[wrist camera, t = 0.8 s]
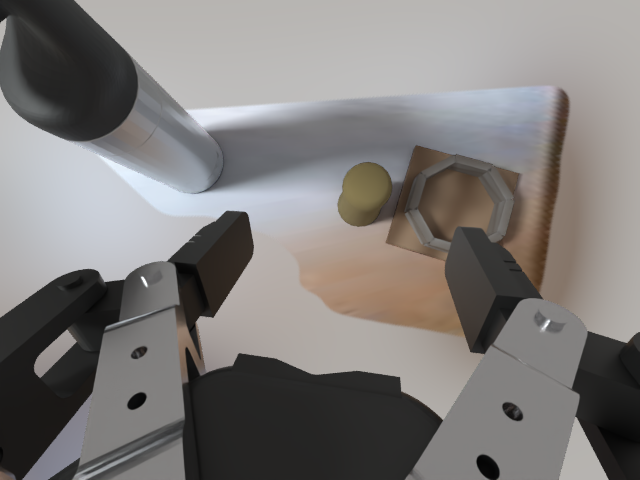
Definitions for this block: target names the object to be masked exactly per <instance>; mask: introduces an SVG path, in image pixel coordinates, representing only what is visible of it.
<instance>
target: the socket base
mask: <svg viewBox="0 0 640 480" xmlns="http://www.w3.org/2000/svg"><path fill="white" fill-rule="evenodd" d="M492 165H493V164H490V163H486V162H483V161H479V160H475V159H472V158H468V157H464V156H461V155H457V154H456V155H455V156H454V155H450V154H446V153H442V152H439V151H435V150H432V149H428V148H424V147H421V146H417V145H416V146H415V148H414V150H413V154H412V157H411V160H410V164H409V167H408V170H407V174H406V177H405V180H404V184H403V187H402V190H401V194H400V197H399V200H398V204H397V207H396V210H395V214H394V217H393V220H392V224H391V227H390V230H389V234H388V237H387V240H386V243H387V244H391V245H394V246H397V247H400V248H404V249H407V250H410V251H413V252H417V253H420V254H423V255H427V256H430V257H433V258H436V259H440V260H443V261H446V259H447V256H448V252H449V249H450V245H451V242H452V239H453V235H454V232H455V230H456V228H457V227H458V226H461V227H476V228H482V229H483V230H484V232H485V234H486V235H487V237H488V238H489V240H490V241H491V242H494V243H498V244H499V245H500V241H501V239H503V237H502V236H505V234H506V231H507V227H508V223H509V220H510V216H511V212H512V209H513V205H514V202H515V200H512V199H513V198H514V196H513V194H514V190H515V187H516V183H517V179H518V176H519V173H515V172H512V171H508V170H504V169H501V168H497V167H495V166H494V167H493V166H492Z"/></svg>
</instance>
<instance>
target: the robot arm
mask: <svg viewBox="0 0 640 480" xmlns="http://www.w3.org/2000/svg"><path fill="white" fill-rule="evenodd" d="M5 18H7V21H6V31H5V35H4V39H3V42H2V46H1V50H0V87H1V90H2V92H3V94H4V97H5V99H6V100H7V102H8V103H9V105H10V106H11V107H12V109H13V110H14V111H15V112H16V113H17V114H18V115H19V116H21V117H22V118H23V119H25V120H26V121H27V122H29V123H31V124H33V125H34V126H36V127H38V128H40V129H42V130H44V131H47V132H49V133H51V134H53V135H55V136H58V137H60V138H63V139H65V140H67V141H69V142H72V143H74V144H76V145H78V146H80V147H83V148H85V149H87V150H89V151H92V152H94V153H96V154H99V155H101V156H103V157H105V158H107V159H110V160H112V161H114V162H116V163H118V164H121V165H123V166H125V167H127V168H129V169H132V170H134V171H136V172H138V173H141V174H143V175H145V176H147V177H149V178H152V179H154V180H156V181H158V182H160V183H162V184H164V185H167V186H169V187H171V188H173V189H176V190H178V191H181V192H184V193H191V194H192V193H199V192H202V191H204V190H206V189H208V188H210V187H211V186H212V185H213V184H214V183H215V182H216V181H217V179H218V178H219V176H220V174H221V172H222V168H223V154H222V151H221V149H220V146H219V145H218V144H217V142H216V141H215V140H214V139H213V138H212V137H211V136H210V135H209V134H208V133H207V132H206V131H205V130H204V129H203V128H202V127H201V126H200V125H199V124H198V123H197V122H196V121H195V120H194V119H193V118H192V117H191V116H190V115H189V114H188V113H187V112H186V111H185V110H184V109H183V108H182V107H181V106H180V105H179V104H178V103H177V102H176V101H175V100H174V99H173V98H172V97H171V96H170V95H169V94H168V93H167V92H166V91H165V90H164V89H163V88H162V87H161V86H160V85H159V84H158V83H157V82H156V81H155V80H154V79H153V78H152V77H151V76H150V75H149V74H148V73H147V72H146V71H145V70H144V69H143V68H142V67H141V66H140V65H139V64H138V63H137V62H136V61H135V60H134V59H133V58H132V57H131V56H130V55H129V54H128V53H127V52H126V51H125V50H124V49H123V48H122V47H121V46H120V45H119V44H118V43H117V42H116V41H115V40H114V39H113V38H112V37H111V36H110V35H109V34H108V33H107V32H106V31H105V30H104V29H103V28H102V27H101V26H100V25H99V24H98V23H96V22H95V21H94V20H93V19H92V18H91V17H90V16H89V15H88V14H87V13H86V12H85V11H84V10H83V9H82V8H81V7H80V6H79V5H78V4H77V3H76V2H75V1H74V0H0V22H1V21H3V20H4V19H5ZM253 249H254V245H253V239H252V234H251V228H250V222H249V217H248V214H247V213H246V212H240V211H226V212H225V213H224V214H223V215H222V216H221V217H220V218H219V219H218V220H217V221H216V222H212V223H211V224H209V225H207V226H205V227H203V228H202V229H201V230H200V231H199V232H198V233H196V234H195V236H193V237H192V238H191V239H190V240H189V242H187V243H186V244H185V245H184V246H183V247H182V248H180V250H178V251H177V252H176V253H175V254H174V255H173V256H172V257H171V258H170V259H169V260H168V261H167V262H163V261H162V262H161V261H160V262H153V263H149V264H146V265H144V266H141V267H139V268H137V269H136V270H134V271H133V272H131V273H130V274H129V275H128V276H127V277H126V279H125V280H119V281H110V282H104V280H103V279H102V277H101V275H100V274H99V272H98V271H96V270H93V269H83V270H78V271H74V272H71V273H68V274H65V275H63V276H61V277H58V278H57V279H55V280H53V281H52V282H50V283H49V284H47V285H46V286H44V287H43V288H42V289H40V290H39V291H37V292H36V293H35V294H33V295H32V296H30V297H29V298H28V299H26V300H25V301H23V302H22V303H20V304H19V305H18V306H16V307H15V308H14V309H12V310H11V311H9V312H8V313H6V314H5V315H4V316H2V317H1V318H0V480H22V479H23V478H24V477H25V475H26V474H27V473H28V472H29V471H30V469H31V468H32V467H33V465H34V464H35V463H36V462H37V461H38V459H39V458H40V457H41V456H42V454H43V453H44V452H45V451H46V449H47V448H48V447H49V446H50V444H51V443H52V442H53V440H54V439H55V438H56V437H57V436H58V434H59V433H60V432H61V431H62V430H63V428H64V427H65V426H66V425H67V423H68V422H69V421H70V420H71V418H72V417H73V416H74V415H75V413H76V412H77V411H78V409H79V408H80V407H81V406H82V405H83V403H84V402H85V401H86V400H87V398H88V397H89V396H90V395H91V393H92V392H93V393H92V399H91V404H90V409H89V415H88V420H87V426H86V431H85V436H84V441H83V446H82V452H81V457H80V458H79V459H77V460H76V461H74V462H73V463H72V464H70V465H69V466H67V467H66V468H64V469H63V470H62V471H60V472H59V473H57V474H56V475H54V476H53V477H51V478H50V479H48V480H559V476H560V472H561V469H562V465H563V461H564V457H565V453H566V449H567V446H568V442H569V438H570V434H571V430H572V427H573V423H574V419H575V417H577V418H578V421H579V422H580V425H581V426H582V428H583V430H584V432H585V434H586V436H587V438H588V440H589V442H590V444H591V446H592V447H593V450H594V452H595V454H596V456H597V458H598V459H599V462H600V463H601V465H602V467H603V469H604V471H605V473H606V475H607V477H608V479H609V480H640V332H638V333H637V334H636V335H634V336H633V337H632V338H631V340H630V341H629V342H628V343H624V342H621V341H618V340H615V339H611V338H608V337H605V336H602V335H598V334H595V333H592V332H589V331H587V329H586V327H585V325H584V324H583V322H582V321H581V320H580V319H579V318H578V317H577V316H576V315H575V314H573V313H572V312H570V311H569V310H567V309H565V308H564V307H562V306H560V305H558V304H555V303H553V302H550V301H547V300H543V298H542V297H541V295H540V294H539V293H538V291H537V290H536V288H535V287H534V286H533V284H532V283H531V281H530V280H529V279H528V277H527V276H526V275H525V273H524V272H522V269H521V268H520V266H519V265H518V264H516V261H515V259H514V258H513V256H512V255H511V254H510V252H509V251H507V250H506V249H505V248H503V247H502V246H500V245H499V244H498V243H494V242H491V241H490V240H489V238H488V237H487V235H486V234H485V232H484V230H483V229H482V228H476V227H461V226H458V227H457V228H456V230H455V232H454V235H453V239H452V242H451V245H450V249H449V252H448V256H447V259H446V263H445V277H446V280H447V283H448V286H449V289H450V292H451V295H452V298H453V301H454V304H455V307H456V310H457V313H458V316H459V319H460V322H461V325H462V328H463V331H464V334H465V337H466V340H467V343H468V346H469V349H470V352H473V353H481V354H485V355H484V356H483V358H482V360H481V361H480V363H479V364H478V366H477V368H476V369H475V371H474V372H473V374H472V376H471V377H470V379H469V380H468V382H467V384H466V385H465V387H464V388H463V390H462V392H461V393H460V395H459V396H458V398H457V400H456V401H455V403H454V404H453V406H452V408H451V409H450V411H449V412H448V414H447V416H446V417H445V419H444V420H442V419H441V418H440V417H439V416H438V415H437V414H436V413H435V412H433V411H432V410H431V409H430V408H429V407H427V406H426V405H425V404H423V403H422V402H420V401H419V400H417V399H415V398H414V397H412V396H410V395H408V394H406V393H403V392H401V383H400V377H395V376H388V375H382V374H374V373H368V372H361V371H352V372H341V373H332V374H321V375H313V374H310V373H307V372H305V371H303V370H301V369H298V368H296V367H293V366H291V365H289V364H287V363H284V362H282V361H280V360H278V359H274V358H268V357H261V356H254V355H247V354H241V353H239V354H238V356H237V358H236V360H235V362H234V365H233V366H228V367H223V368H219V369H216V370H213V371H210V372H208V373H206V369H205V363H204V358H203V352H202V346H201V341H200V335H199V329H198V325H197V323H196V321H197V319H198V318H199V317H200V316H205V317H212V318H213V317H214V316H215V314H216V313H217V311H218V310H219V308H220V306H221V305H222V303H223V302H224V300H225V299H226V297H227V296H228V294H229V293H230V291H231V289H232V288H233V286H234V285H235V283H236V281H237V280H238V278H239V277H240V275H241V274H242V272H243V271H244V269H245V267H246V266H247V264H248V263H249V261H250V260H251V258H252V255H253ZM65 330H68V331H69V332H70V333H71V335H72V336H73V337H74V339H75V340H76V341H77V342H76V343H75V344H74V345H73V346H72V348H70V349H69V350H68V352H66V353H65V355H63V356H62V357H61V358H60V359H59V360H58V361H57V362H56V363H55V364H54V365H53V366H52V367H51V368H50V369H49V370H48V371H47V372H46V373H45V374H44V375H43V376H42V377H41V378H39V377H38V376H37V375H36V374H35V372H34V364H35V361H36V359H37V357H38V356H39V355H40V353H42V352H43V351H44V350H45V349H46V348H47V347H48V346H49V345H50V344H51V343H52V342H53V341H55V339H57V338H58V337H59V336H60V335H61V334H62V333H63V332H64V331H65Z"/></svg>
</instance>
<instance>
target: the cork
mask: <svg viewBox="0 0 640 480" xmlns="http://www.w3.org/2000/svg"><path fill="white" fill-rule="evenodd" d="M342 189H343V192H342V194H341V195H340V197H339V200H338V211H339V214H340V216H341V217H342V219H343V220H344V221H345V222H347V223H348V224H350V225H353V226H357V227H360V226H366V225H368V224H370V223H372V222H373V221H374V220H375V219H376V218H377V217H378V215H379V213H380V209H381V207H382V206H383V205H384V204H385V203H386V202H387V201H388V199H389V197H390V195H391V191H392V183H391V178H390V176H389V174H388V172H387V171H386V170H385V169H384V168H383V167H382V166H380V165H378V164H376V163H371V162H365V163H360V164H358V165H356V166H354V167H353V168H352V169H350V170H349V171H348V172H347V174H346V176H345V178H344V181H343V185H342Z"/></svg>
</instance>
